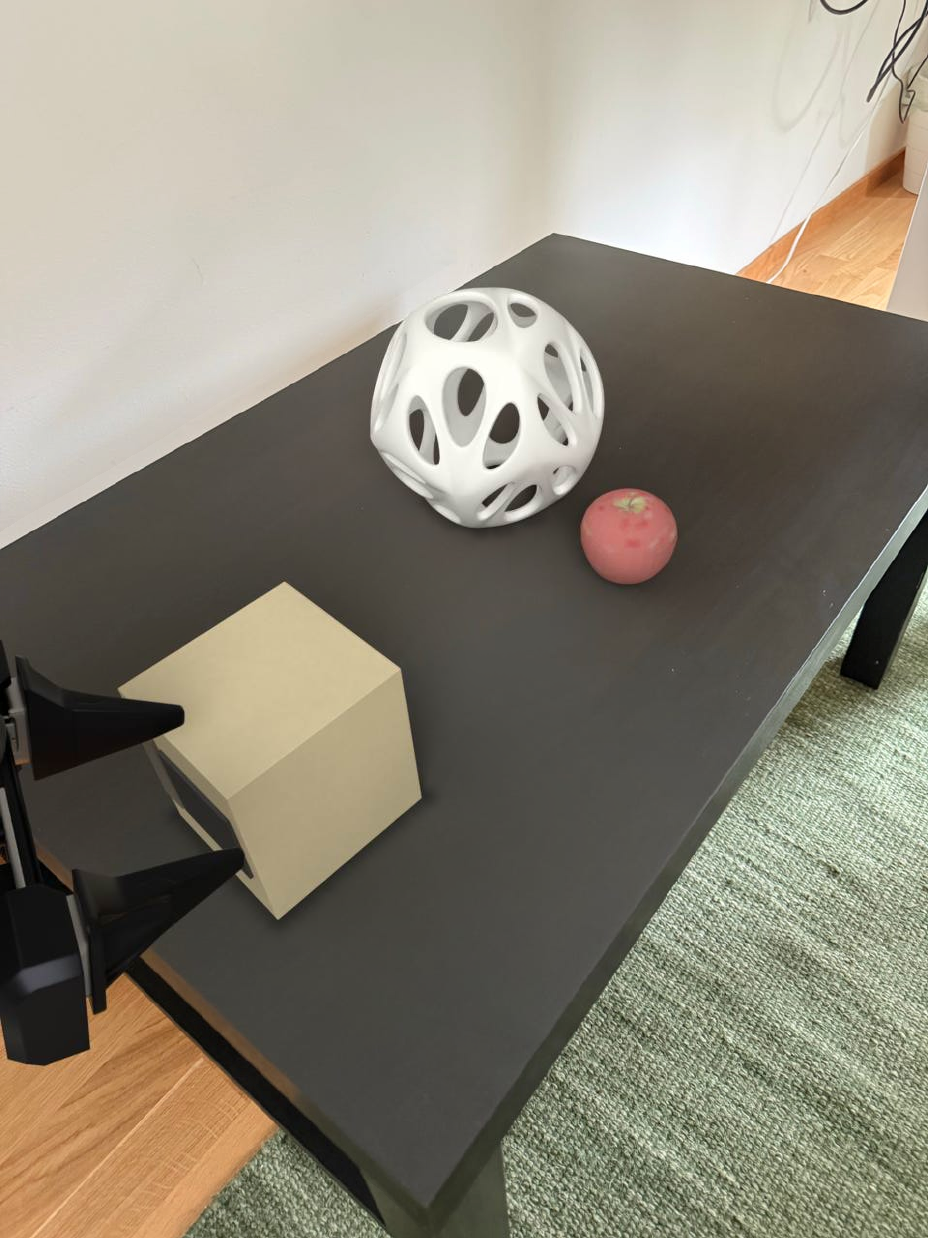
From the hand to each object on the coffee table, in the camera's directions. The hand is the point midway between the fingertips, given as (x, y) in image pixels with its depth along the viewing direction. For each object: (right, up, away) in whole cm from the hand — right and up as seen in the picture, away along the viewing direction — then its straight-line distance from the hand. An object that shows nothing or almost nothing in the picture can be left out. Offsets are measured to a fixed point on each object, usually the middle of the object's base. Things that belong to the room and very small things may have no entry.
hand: (211, 781), depth 43 cm
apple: (+25, +11, +33) cm, 43 cm away
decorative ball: (+14, +19, +42) cm, 48 cm away
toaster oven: (+1, -5, +19) cm, 20 cm away
